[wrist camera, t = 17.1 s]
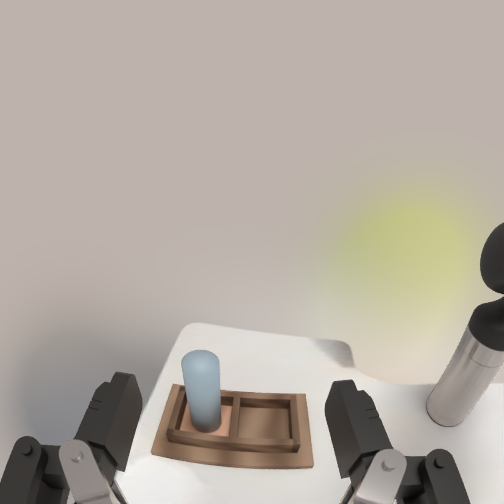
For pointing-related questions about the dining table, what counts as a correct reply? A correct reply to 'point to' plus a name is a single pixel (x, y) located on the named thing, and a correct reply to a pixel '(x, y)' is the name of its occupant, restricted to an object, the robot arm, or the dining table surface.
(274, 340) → the dining table surface
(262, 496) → the dining table surface
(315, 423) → the dining table surface
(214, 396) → the slate peg
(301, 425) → the slot rack
